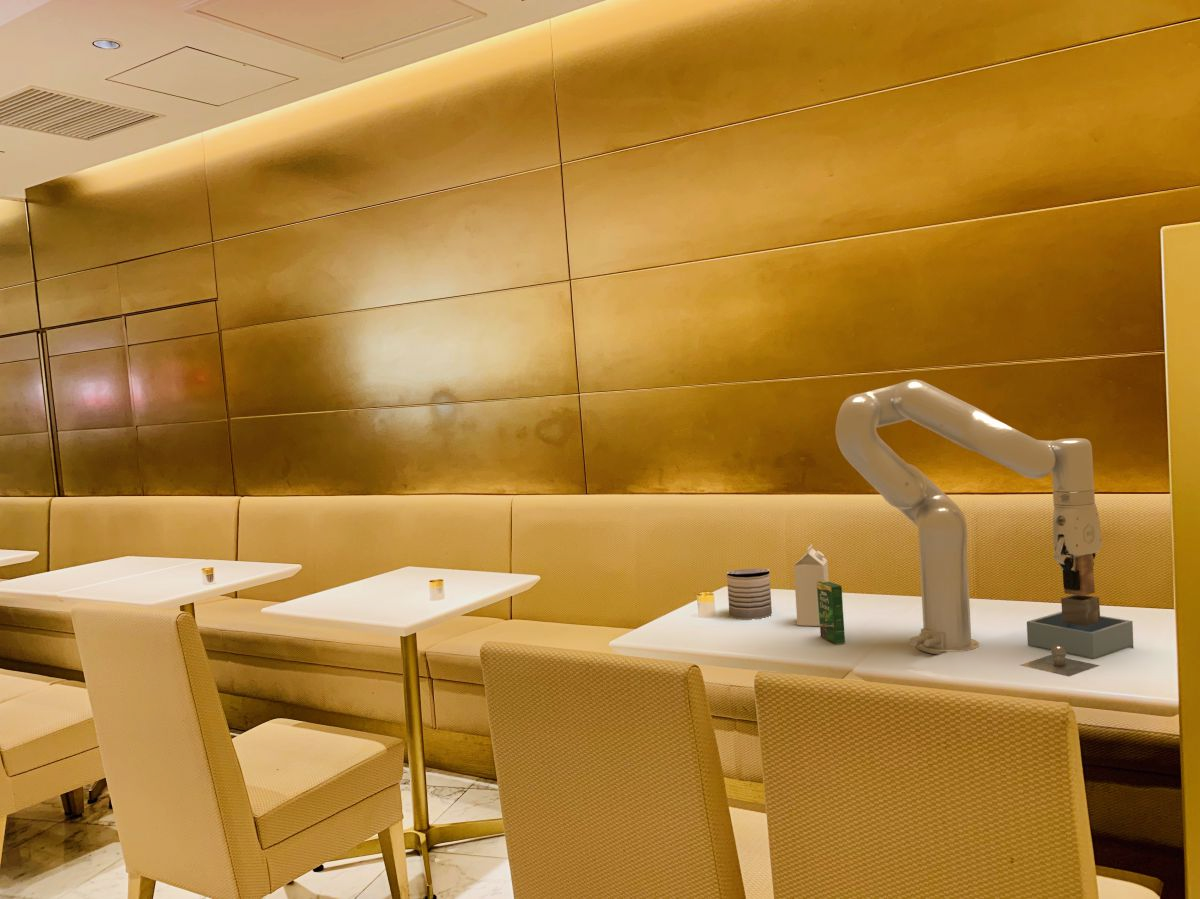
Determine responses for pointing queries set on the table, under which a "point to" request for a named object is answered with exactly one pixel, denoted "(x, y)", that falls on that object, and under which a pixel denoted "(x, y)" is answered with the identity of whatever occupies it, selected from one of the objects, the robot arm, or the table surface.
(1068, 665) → the stud plate
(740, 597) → the can
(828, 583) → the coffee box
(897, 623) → the table surface
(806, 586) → the milk carton
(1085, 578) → the strut
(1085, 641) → the bin
